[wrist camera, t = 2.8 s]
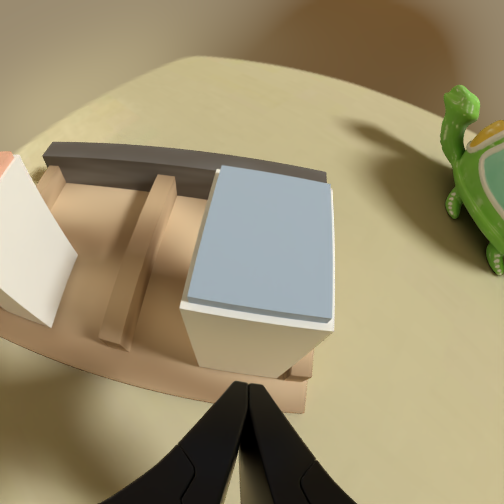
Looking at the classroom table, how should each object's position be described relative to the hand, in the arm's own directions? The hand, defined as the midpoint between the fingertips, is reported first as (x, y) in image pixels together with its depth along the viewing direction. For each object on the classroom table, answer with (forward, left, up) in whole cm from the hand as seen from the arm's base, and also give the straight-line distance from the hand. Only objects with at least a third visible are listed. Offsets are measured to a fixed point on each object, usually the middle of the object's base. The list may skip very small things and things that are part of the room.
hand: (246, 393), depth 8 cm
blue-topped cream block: (+3, +3, -8) cm, 9 cm away
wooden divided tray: (-1, +9, -8) cm, 12 cm away
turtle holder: (+29, -1, -8) cm, 30 cm away
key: (-7, +12, -8) cm, 16 cm away
